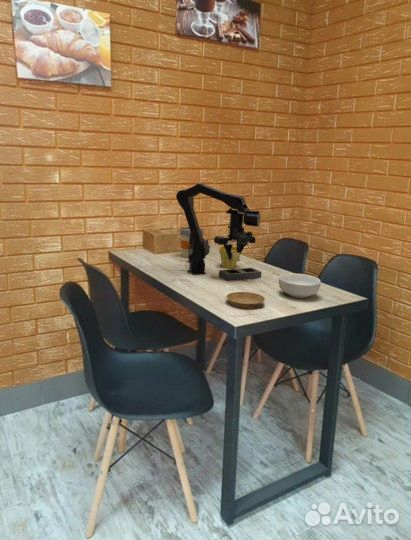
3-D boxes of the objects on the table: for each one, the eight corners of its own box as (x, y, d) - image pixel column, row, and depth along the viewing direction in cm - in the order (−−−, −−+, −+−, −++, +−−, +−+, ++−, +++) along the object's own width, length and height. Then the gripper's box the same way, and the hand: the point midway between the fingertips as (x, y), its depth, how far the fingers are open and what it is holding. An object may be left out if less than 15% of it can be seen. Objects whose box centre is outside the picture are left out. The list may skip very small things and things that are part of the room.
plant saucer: (223, 307, 168) (223, 301, 168) (228, 296, 182) (228, 290, 182) (263, 312, 166) (263, 305, 165) (265, 300, 180) (266, 293, 179)
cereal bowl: (269, 291, 191) (270, 275, 189) (299, 287, 199) (301, 271, 198) (295, 303, 177) (297, 286, 175) (327, 298, 185) (329, 282, 183)
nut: (232, 261, 204) (232, 252, 203) (227, 259, 207) (228, 251, 206) (239, 261, 206) (240, 252, 205) (235, 259, 209) (235, 250, 208)
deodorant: (201, 261, 236) (202, 233, 232) (197, 264, 231) (198, 235, 227) (190, 260, 238) (191, 232, 234) (186, 262, 232) (187, 233, 229)
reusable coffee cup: (202, 260, 240) (203, 231, 236) (178, 258, 240) (179, 230, 236) (202, 254, 252) (204, 228, 249) (180, 253, 252) (181, 226, 249)
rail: (227, 281, 203) (227, 274, 202) (218, 276, 210) (219, 270, 209) (261, 277, 211) (261, 271, 210) (251, 273, 218) (252, 267, 217)
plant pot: (243, 268, 228) (244, 248, 226) (227, 270, 222) (228, 250, 220) (229, 263, 236) (231, 244, 234) (214, 265, 230) (215, 246, 227)
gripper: (227, 227, 191) (224, 263, 195) (263, 226, 200) (260, 261, 204) (214, 223, 201) (212, 258, 205) (250, 222, 209) (247, 255, 213)
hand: (233, 258), depth 206 cm, fingers closed on nut, 4 cm apart
